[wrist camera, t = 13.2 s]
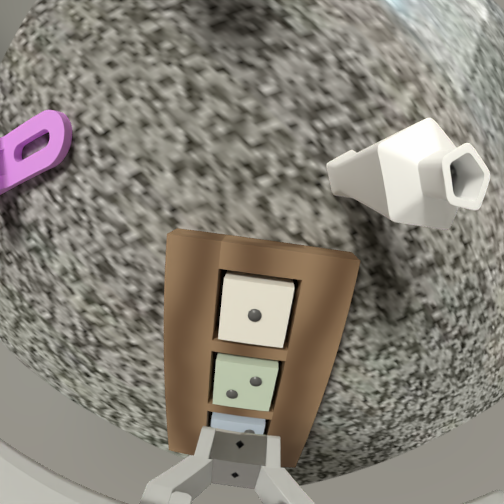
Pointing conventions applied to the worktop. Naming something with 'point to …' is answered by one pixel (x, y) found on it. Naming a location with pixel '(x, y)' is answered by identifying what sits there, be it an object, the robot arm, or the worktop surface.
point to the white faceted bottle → (413, 176)
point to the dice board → (207, 343)
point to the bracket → (18, 170)
